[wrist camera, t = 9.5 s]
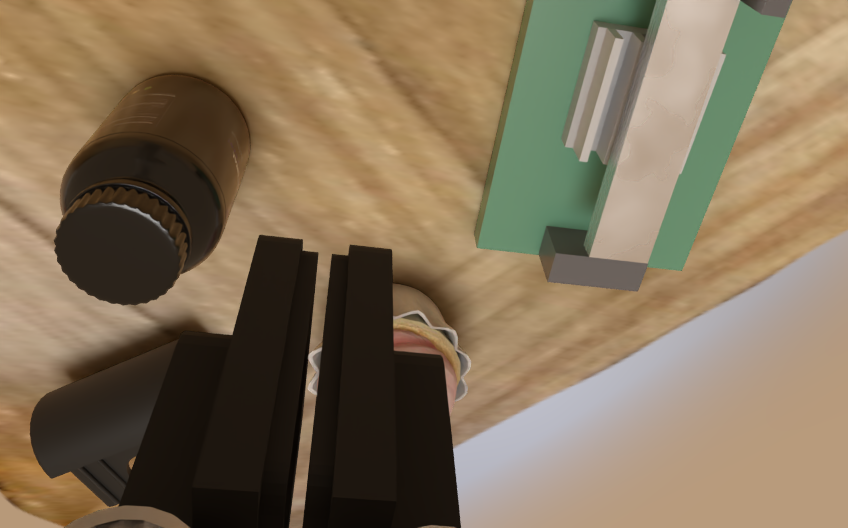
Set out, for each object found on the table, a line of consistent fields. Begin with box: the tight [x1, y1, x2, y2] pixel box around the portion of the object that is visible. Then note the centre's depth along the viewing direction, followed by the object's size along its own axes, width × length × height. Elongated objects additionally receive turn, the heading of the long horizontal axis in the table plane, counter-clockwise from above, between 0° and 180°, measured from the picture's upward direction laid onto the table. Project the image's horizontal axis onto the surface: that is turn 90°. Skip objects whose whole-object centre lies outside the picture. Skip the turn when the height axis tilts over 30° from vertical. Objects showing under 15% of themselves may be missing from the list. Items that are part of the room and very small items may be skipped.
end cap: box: [30, 339, 179, 507], centre depth 45 cm, size 10×7×7 cm
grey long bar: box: [584, 0, 740, 264], centre depth 34 cm, size 15×3×2 cm, turn 171°
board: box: [474, 0, 792, 291], centre depth 36 cm, size 20×12×7 cm, turn 171°
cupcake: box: [308, 283, 471, 415], centre depth 42 cm, size 9×9×10 cm
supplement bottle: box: [54, 75, 250, 305], centre depth 34 cm, size 7×7×12 cm
